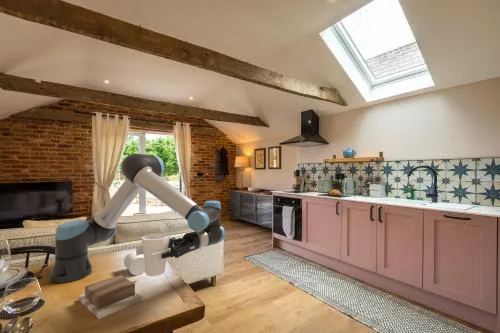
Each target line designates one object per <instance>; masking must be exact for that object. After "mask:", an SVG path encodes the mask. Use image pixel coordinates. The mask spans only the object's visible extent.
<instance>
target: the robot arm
mask: <svg viewBox="0 0 500 333" xmlns="http://www.w3.org/2000/svg"><path fill="white" fill-rule="evenodd" d="M120 166H121V167H120V169H121V173H122V174H123V176H124V178H126V179H125V180H124V181H123V182H122V184H121V185H120V187H119V188H118V189H117V190H116V192H115V193H114V195H113V196H112V197H111V198H110V199H109V200H108V202H107V203H106V204H105V205H104V207H103V208H102V210H100V211H97V212H95V213H94V214H93V216H92V217H91V218H90V220H87V219H77V220H75V219H74V220H70V221H66V222H63V223H60V225H58V226H57V227H56V230H55V235H54V238H55V242H54V243H55V244H54V246H55V254H54V256H55V257H54V263H53V265H52V268H51V270H50V273H49V276H48V278H49V282H51V283H54V284H62V283H71V282H74V281H78V280H81V279H84V278H86V277H88V276H90V274H92V273H93V267H92V264H91V263H92V262H91V260H90V258H89V255H88V254H89V252H88V251H89V249H88V248H89V247H90V246H94V245H96V244H99V243H101V242H105V241H107V240H110V239H111V238H113V237H114V235H116V232H117V226H118V220H119V218H120V217H121V216H122V215H123V214H124V213H125V211H126V210H127V209H128V207H129V206H130V205H131V203H132V202H133V201H134V200H135V198H136V197H137V196H138V195H139V193H140V192H141V191H142V190H143V189H144V190H146V191H147V192H148V193H150V194H151V195H152V196H153V197H155V198H156V199H158V200H159V201H160V202H161V203H163V204H164V205H166V206H167V207H168V208H170V210H172V211H174V212H175V213H176V214H177V215H179V216H180V217H182V218H183V219H185V220H186V221H187V225H188V227H189V229H191V230H192V231H190V232H186V233H185V234H183V236H182V237H181V238H179V237H178V238H176V237H170V242H169V245H168V249H167V250H163V251H160V252H156V253H153V254H151V262H152V263H153V262H156V261H159V260H162V259H165V258H167V259H168V258H175V259H178V258H180V257H182V256H184V255H186V254H188V253H190V252H194V251H197V250H202V248H206V247H209V246H212V245H215V244H218V243H221V242H222V241H224V240H225V238H226V231H225V228H224V227H223V226H222V225H221V211H222V208H221V202H220V201H218V200H205V201H204V203H203V207H202V206H200V205H199V204H198V203H196V202H195V201H194V200H192V199H191V198H190V197H188V196H187V195H185V194H184V193H182V192H181V191H180V190H179V189H177V188H176V187H174V186H173V185H172V184H170V183H169V182H168V181H167V180H165V179H163V178H162V175H163V174H164V172H165V164H164V162H163V160H162V159H161V158H160V157H159V156H156V155H154V154H143V153H131V154H128V155H127V156H125V157H124V158H123V160H122V162H121V164H120ZM135 252H136V255H137V256H138V255H144V254H143V246H142V245H141V246H138V247H136V248H135Z"/></svg>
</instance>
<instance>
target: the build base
mask: <svg viewBox="0 0 500 333" xmlns="http://www.w3.org/2000/svg"><path fill="white" fill-rule="evenodd" d="M142 298H143V296H142V295H140V294H139V293H137V292H136V283H135V282H133V281H131V280H130V279H127V278H126V277H124V276H122V275H121V274H119V275H116V276H115V275H114V276H113V277H110V278H106V279H102V280H100V281H97V282H93V283H90V284H87V285H85V286H84V293H83V294H80V295H78V301H79V303H81V304H82V305H83V306H84V307H85V308H86V309H87V310H88V311H89V312H91V313H92V314H93V316H94V317H95V318H97V320H100V319H104V318H105V317H108V316H109V315H110V316H111V315H112V314H114V313H116V312H118V311H121V310H124V309H126V308H129V307H131V306H133V305H135V304H137V303H139V302H142V300H143V299H142Z"/></svg>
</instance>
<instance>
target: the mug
mask: <svg viewBox="0 0 500 333" xmlns="http://www.w3.org/2000/svg"><path fill="white" fill-rule="evenodd" d="M123 265H124V266H125V267H126V269H127V270H128V272H129V273H130V274H131V275H133V276H140V275H143V273H146V270H145V262H144V255H143V254H141V255H138V256H137V255H136V251H131V252H129V253H128V254H126V255H125V257H124V260H123Z"/></svg>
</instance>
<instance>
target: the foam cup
mask: <svg viewBox="0 0 500 333" xmlns="http://www.w3.org/2000/svg"><path fill="white" fill-rule="evenodd" d="M170 238H171V237H170V234H169V233H165V232H154V233H148V234H145V235H143V236H141V246H143V254H142V255H143V257H144V262H145V270H146V271H145V275H146V276H148V277H156V276H161V275H162V274H165V272H166V264H167V259H168V258H165V259H162V260H159V261H156V262H153V263H152V262H151V254H153V253H156V252H160V251H163V250H167V249H169V248H168V245H169V242H170Z"/></svg>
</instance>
